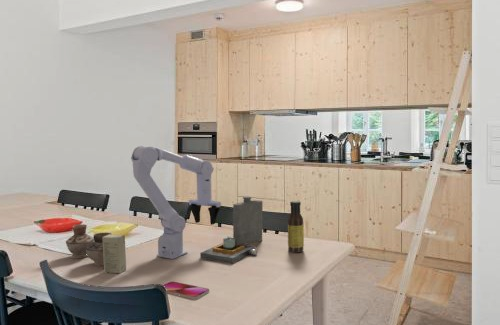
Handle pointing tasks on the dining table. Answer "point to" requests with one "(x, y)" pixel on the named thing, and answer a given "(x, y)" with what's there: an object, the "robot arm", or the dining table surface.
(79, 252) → the pottery
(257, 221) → the hip flask
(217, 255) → the grey square hole board
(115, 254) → the skincare box
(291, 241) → the sauce bottle
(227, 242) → the spout can
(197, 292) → the smartphone
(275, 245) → the dining table surface
